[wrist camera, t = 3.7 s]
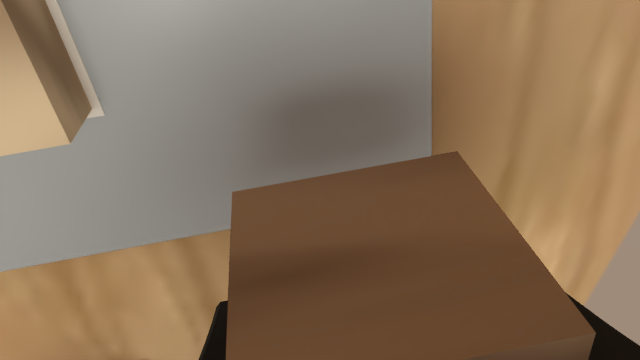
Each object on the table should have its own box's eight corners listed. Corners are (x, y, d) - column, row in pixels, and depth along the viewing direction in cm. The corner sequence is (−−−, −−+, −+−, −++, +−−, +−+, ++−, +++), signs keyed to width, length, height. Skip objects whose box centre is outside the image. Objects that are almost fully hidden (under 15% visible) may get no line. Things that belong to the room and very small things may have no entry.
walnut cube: (451, 306, 13) (546, 504, 9) (273, 340, 13) (287, 559, 9) (457, 151, 11) (596, 332, 6) (231, 192, 10) (223, 406, 6)
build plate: (426, 183, 20) (432, 192, 20) (-57, 273, 19) (-66, 285, 19) (425, -262, 12) (433, -267, 12) (-385, -142, 12) (-417, -143, 11)
